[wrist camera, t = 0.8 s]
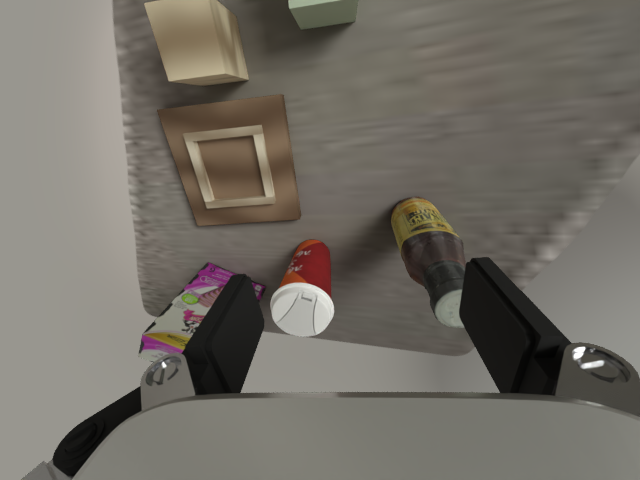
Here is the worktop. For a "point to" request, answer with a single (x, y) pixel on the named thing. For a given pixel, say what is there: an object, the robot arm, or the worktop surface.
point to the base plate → (234, 160)
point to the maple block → (197, 41)
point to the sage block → (322, 12)
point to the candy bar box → (186, 313)
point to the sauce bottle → (431, 255)
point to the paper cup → (305, 292)
